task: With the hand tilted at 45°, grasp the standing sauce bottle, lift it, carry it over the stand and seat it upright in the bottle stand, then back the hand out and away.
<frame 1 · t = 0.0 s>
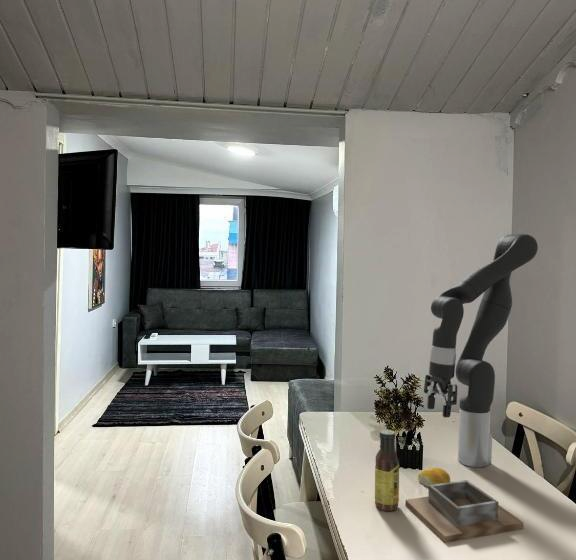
hand: (438, 412, 159), 17 cm above the table, tool pointing down, fingers open, 8 cm apart
bread roll: (433, 483, 149), on the table
bottle stand: (461, 516, 130), on the table
sauce bottle: (386, 506, 135), on the table
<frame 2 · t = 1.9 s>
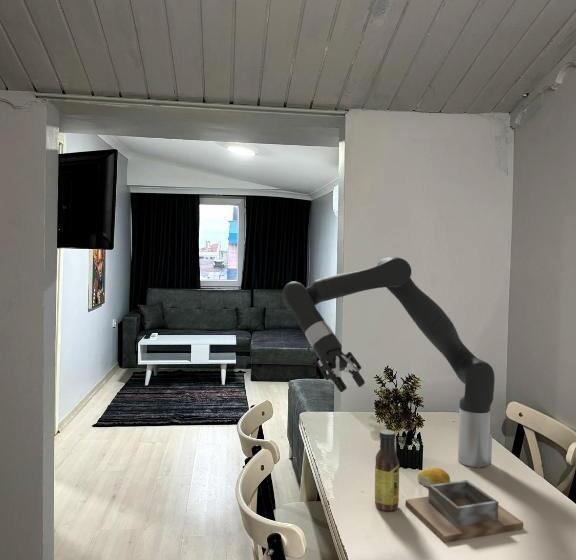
hand: (353, 387, 141), 29 cm above the table, tool tilted 45°, fingers open, 8 cm apart
nothing on the table moved.
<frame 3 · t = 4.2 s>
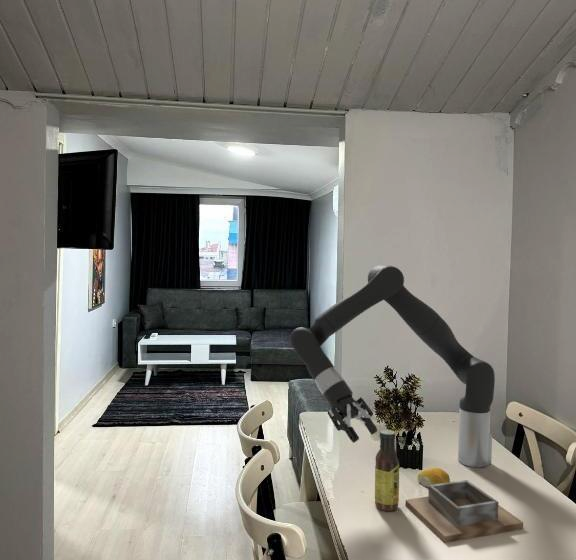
hand: (365, 436, 139), 17 cm above the table, tool tilted 45°, fingers open, 8 cm apart
nothing on the table moved.
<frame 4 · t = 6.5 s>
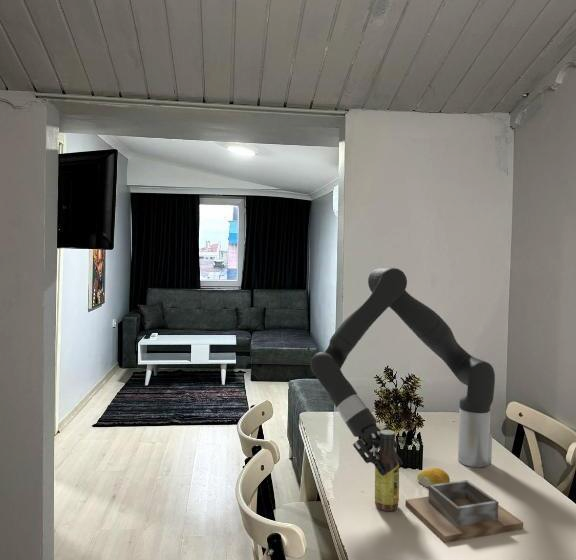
hand: (392, 469, 133), 10 cm above the table, tool tilted 45°, fingers closed on sauce bottle, 6 cm apart
sauce bottle: (386, 506, 135), on the table, touching gripper
everything else where it was.
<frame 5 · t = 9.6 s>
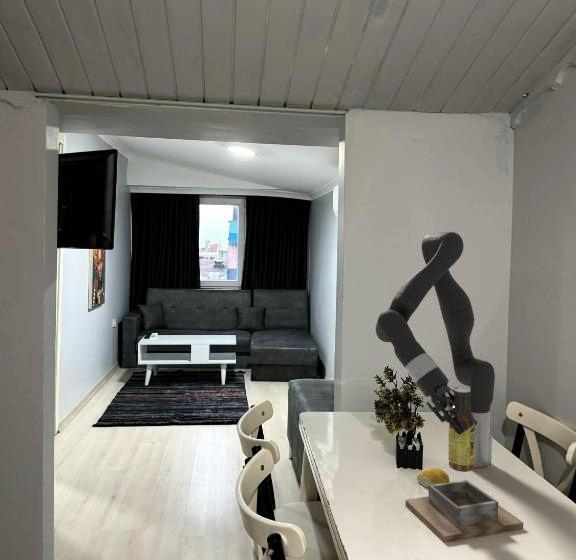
hand: (468, 429, 128), 23 cm above the table, tool tilted 45°, fingers closed on sauce bottle, 6 cm apart
sauce bottle: (461, 468, 130), point 12 cm above the table, touching gripper
everything else where it was.
when the fingers open (13 cm above the table, at t = 12.7 s): sauce bottle stays where it is, resting on bottle stand.
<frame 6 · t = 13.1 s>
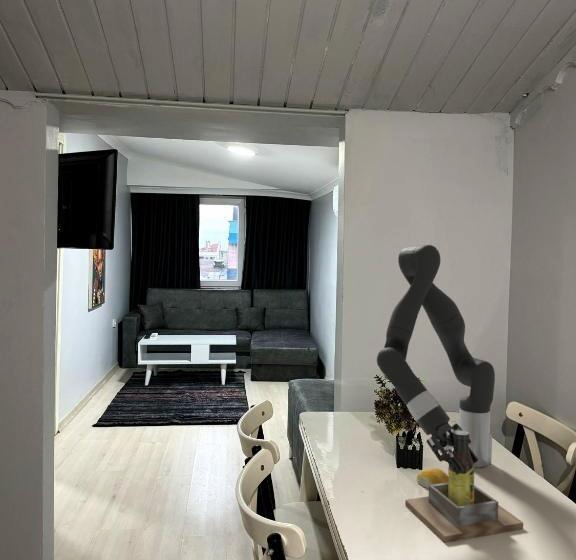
hand: (468, 467, 128), 13 cm above the table, tool tilted 45°, fingers open, 8 cm apart
sauce bottle: (460, 511, 130), point 1 cm above the table, touching bottle stand
everything else where it was.
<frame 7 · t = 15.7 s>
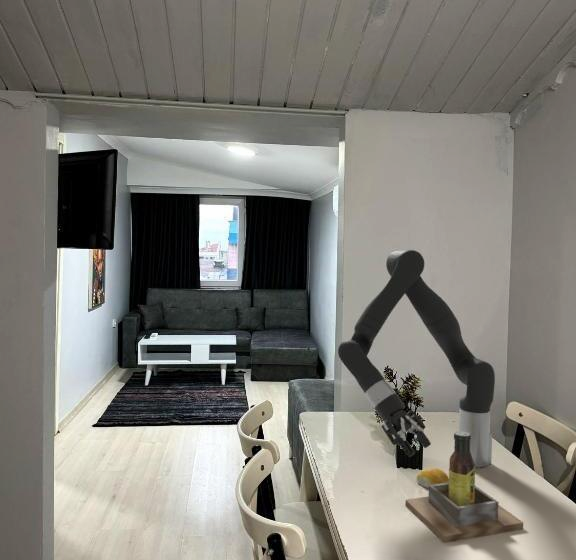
hand: (420, 450, 138), 14 cm above the table, tool tilted 45°, fingers open, 8 cm apart
nothing on the table moved.
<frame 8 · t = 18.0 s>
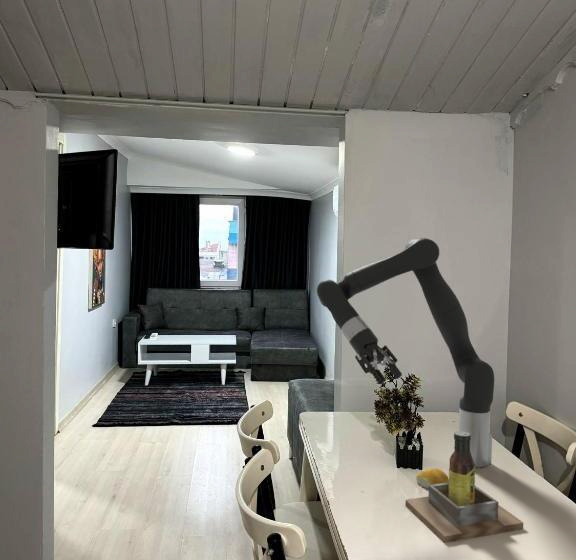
hand: (391, 379, 146), 31 cm above the table, tool tilted 45°, fingers open, 8 cm apart
nothing on the table moved.
at the end: sauce bottle inside the target area on the bottle stand (0.2 cm from its centre), point 1.3 cm above the bottle stand's base; sauce bottle tilted 0°; the gripper is holding nothing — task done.
